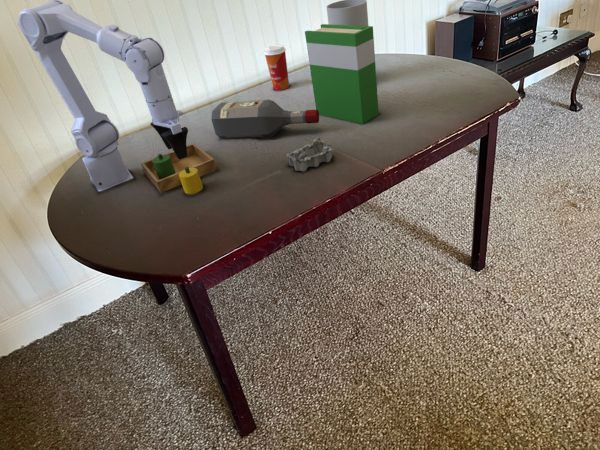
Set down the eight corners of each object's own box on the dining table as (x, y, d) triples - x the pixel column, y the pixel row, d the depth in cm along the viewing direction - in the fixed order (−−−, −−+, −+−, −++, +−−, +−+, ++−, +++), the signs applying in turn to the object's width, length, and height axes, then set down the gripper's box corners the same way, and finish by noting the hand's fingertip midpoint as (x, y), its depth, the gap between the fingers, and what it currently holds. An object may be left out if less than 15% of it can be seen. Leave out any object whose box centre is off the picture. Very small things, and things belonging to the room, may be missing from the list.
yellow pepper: (189, 198, 111) (180, 174, 108) (182, 191, 115) (174, 168, 111) (206, 190, 113) (199, 167, 109) (199, 184, 116) (192, 161, 113)
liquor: (228, 128, 143) (323, 124, 134) (217, 142, 136) (316, 138, 127) (221, 100, 138) (319, 93, 129) (208, 112, 131) (311, 106, 122)
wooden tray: (161, 194, 115) (156, 182, 113) (145, 175, 125) (140, 163, 123) (217, 171, 120) (214, 159, 118) (197, 154, 131) (193, 142, 129)
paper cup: (267, 88, 168) (259, 48, 160) (286, 82, 170) (280, 43, 163) (275, 93, 162) (268, 52, 154) (295, 87, 164) (288, 46, 156)
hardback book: (316, 114, 141) (304, 31, 128) (332, 105, 145) (322, 24, 131) (362, 123, 130) (354, 34, 116) (378, 113, 134) (372, 26, 120)
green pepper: (166, 182, 119) (157, 160, 115) (155, 178, 121) (146, 157, 118) (179, 173, 121) (172, 151, 118) (169, 170, 124) (161, 149, 120)
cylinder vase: (330, 82, 163) (320, 5, 149) (363, 73, 165) (356, -4, 151) (343, 92, 153) (334, 10, 139) (378, 82, 155) (373, 1, 141)
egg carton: (323, 150, 121) (321, 135, 118) (336, 160, 115) (334, 145, 112) (285, 162, 118) (283, 148, 116) (297, 174, 112) (294, 159, 110)
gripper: (186, 99, 99) (203, 156, 107) (165, 85, 110) (182, 138, 118) (155, 110, 97) (175, 167, 105) (137, 95, 108) (156, 148, 115)
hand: (177, 152), depth 111 cm, fingers open, 7 cm apart
